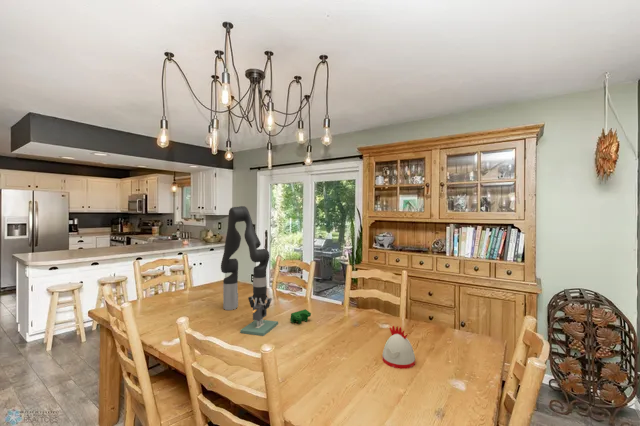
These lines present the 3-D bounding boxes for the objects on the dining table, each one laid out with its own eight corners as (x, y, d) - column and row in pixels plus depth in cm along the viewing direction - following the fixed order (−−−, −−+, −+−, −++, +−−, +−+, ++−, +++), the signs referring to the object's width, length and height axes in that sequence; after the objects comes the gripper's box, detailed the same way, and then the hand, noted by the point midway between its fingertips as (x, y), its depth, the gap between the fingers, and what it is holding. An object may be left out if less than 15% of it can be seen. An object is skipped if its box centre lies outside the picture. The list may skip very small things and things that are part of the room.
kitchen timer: (391, 350, 146) (391, 319, 146) (419, 359, 137) (420, 325, 137) (376, 361, 135) (377, 327, 135) (406, 372, 126) (407, 335, 126)
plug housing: (260, 314, 177) (260, 302, 177) (266, 315, 176) (266, 303, 176) (249, 322, 165) (249, 309, 165) (255, 323, 164) (255, 309, 164)
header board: (256, 321, 183) (256, 312, 183) (278, 324, 179) (278, 314, 179) (240, 332, 166) (240, 322, 166) (263, 336, 162) (263, 325, 162)
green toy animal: (297, 331, 179) (295, 320, 175) (291, 326, 184) (288, 315, 180) (313, 319, 186) (310, 308, 182) (306, 314, 190) (304, 303, 186)
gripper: (274, 284, 174) (274, 314, 174) (252, 282, 178) (252, 312, 178) (268, 287, 167) (268, 319, 167) (245, 285, 171) (245, 316, 171)
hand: (259, 315), depth 173 cm, fingers closed on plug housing, 3 cm apart
